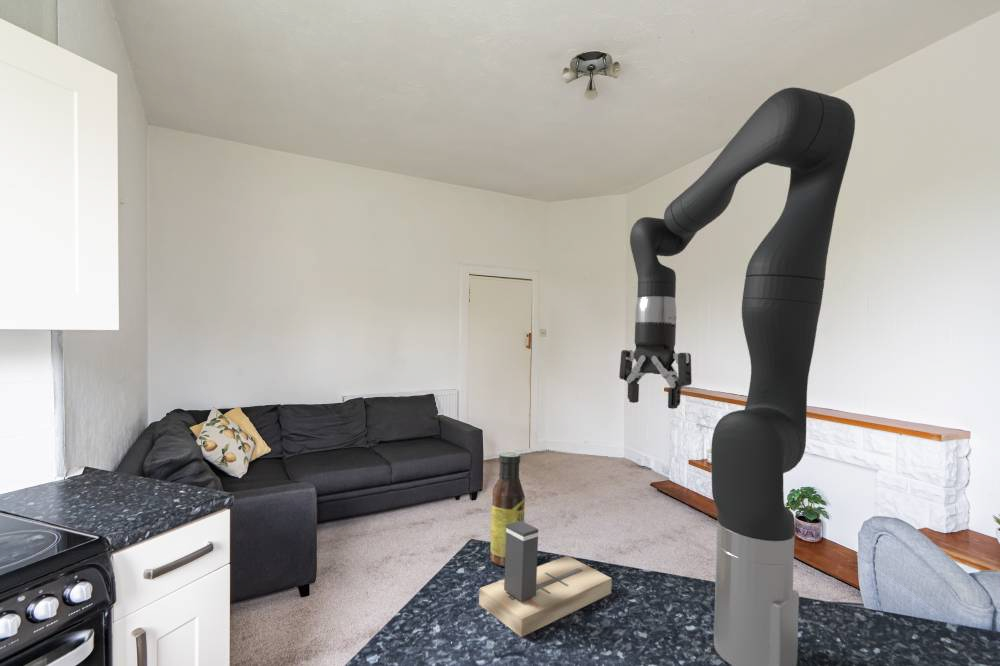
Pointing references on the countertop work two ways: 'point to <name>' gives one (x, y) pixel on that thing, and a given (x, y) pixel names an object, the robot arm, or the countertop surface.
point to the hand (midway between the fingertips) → (652, 405)
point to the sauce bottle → (505, 504)
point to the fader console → (547, 595)
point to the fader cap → (521, 560)
